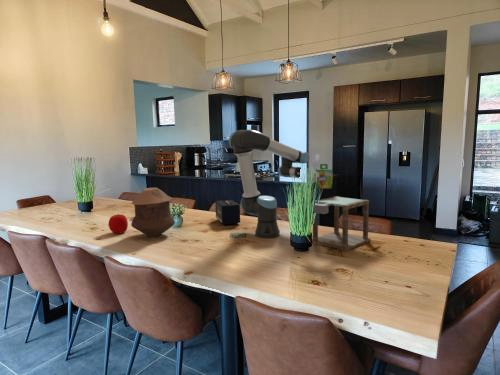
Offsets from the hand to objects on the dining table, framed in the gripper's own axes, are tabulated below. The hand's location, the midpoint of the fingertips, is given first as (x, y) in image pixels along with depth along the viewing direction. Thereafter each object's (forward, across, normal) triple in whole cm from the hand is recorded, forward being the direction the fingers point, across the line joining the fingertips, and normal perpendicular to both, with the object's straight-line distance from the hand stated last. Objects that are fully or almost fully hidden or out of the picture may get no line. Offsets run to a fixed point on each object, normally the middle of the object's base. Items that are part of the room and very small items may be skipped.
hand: (325, 174), depth 210 cm
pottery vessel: (-71, +80, -37) cm, 113 cm away
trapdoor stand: (+19, +12, -36) cm, 43 cm away
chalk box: (-1, 0, -9) cm, 9 cm away
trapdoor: (+19, +20, -15) cm, 32 cm away
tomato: (-94, +93, -37) cm, 137 cm away
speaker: (-65, +26, -37) cm, 79 cm away
